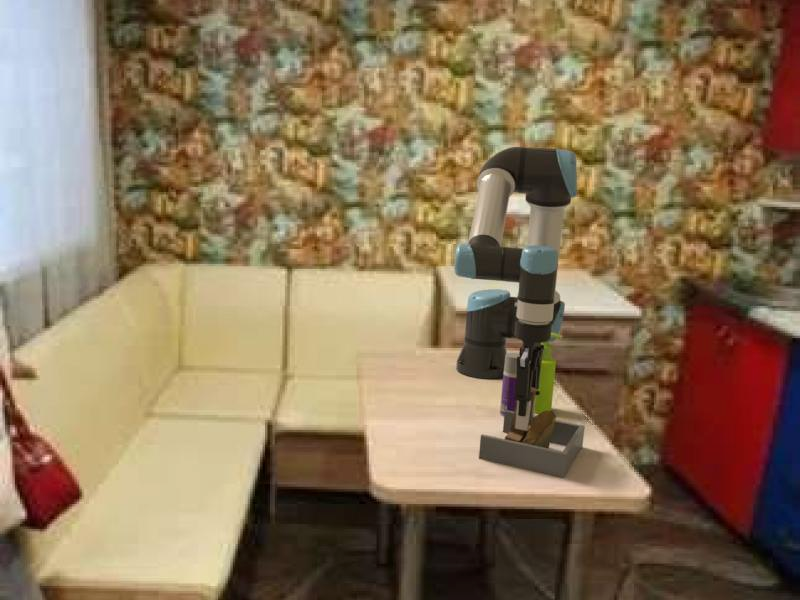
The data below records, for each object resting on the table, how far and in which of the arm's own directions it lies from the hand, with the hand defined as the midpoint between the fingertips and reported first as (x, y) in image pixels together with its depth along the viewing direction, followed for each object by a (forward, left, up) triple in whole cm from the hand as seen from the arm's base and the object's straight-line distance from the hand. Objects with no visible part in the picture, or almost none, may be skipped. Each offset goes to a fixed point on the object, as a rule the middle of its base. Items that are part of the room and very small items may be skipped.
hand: (524, 426), depth 170 cm
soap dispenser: (-27, -3, -6) cm, 28 cm away
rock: (0, +2, -6) cm, 6 cm away
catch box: (0, +2, -6) cm, 6 cm away
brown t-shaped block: (0, -2, -5) cm, 6 cm away
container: (-20, -9, -6) cm, 23 cm away
